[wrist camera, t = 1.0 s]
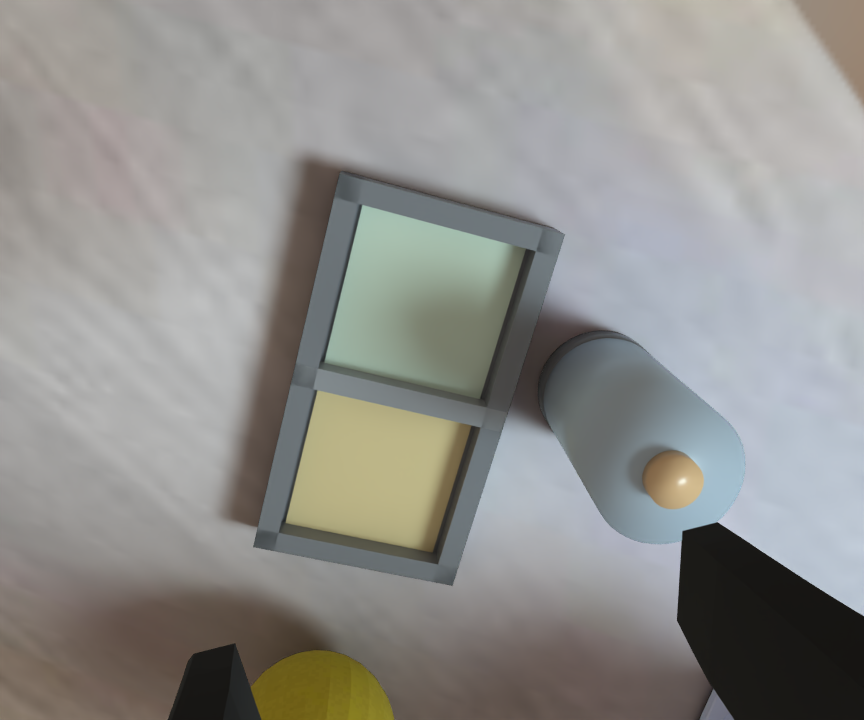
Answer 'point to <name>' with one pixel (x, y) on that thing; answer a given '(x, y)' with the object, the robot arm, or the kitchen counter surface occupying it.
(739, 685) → the robot arm
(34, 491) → the kitchen counter surface
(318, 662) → the lemon
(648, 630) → the kitchen counter surface
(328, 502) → the checker tray
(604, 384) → the cell
